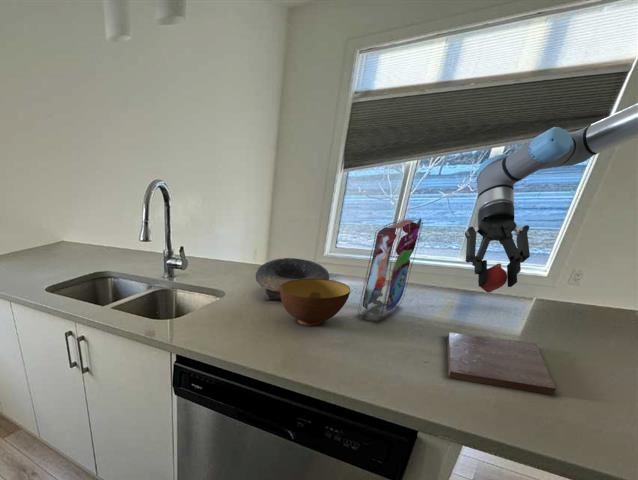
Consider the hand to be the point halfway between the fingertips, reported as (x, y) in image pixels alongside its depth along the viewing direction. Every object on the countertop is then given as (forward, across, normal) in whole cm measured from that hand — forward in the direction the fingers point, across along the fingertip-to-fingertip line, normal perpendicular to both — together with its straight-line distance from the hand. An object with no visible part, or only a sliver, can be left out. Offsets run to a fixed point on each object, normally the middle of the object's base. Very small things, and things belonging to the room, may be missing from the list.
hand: (497, 284), depth 107 cm
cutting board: (+29, +9, +17) cm, 35 cm away
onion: (0, 0, -5) cm, 5 cm away
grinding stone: (-3, +51, -14) cm, 53 cm away
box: (+6, +25, -6) cm, 26 cm away
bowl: (+15, +46, +4) cm, 48 cm away
